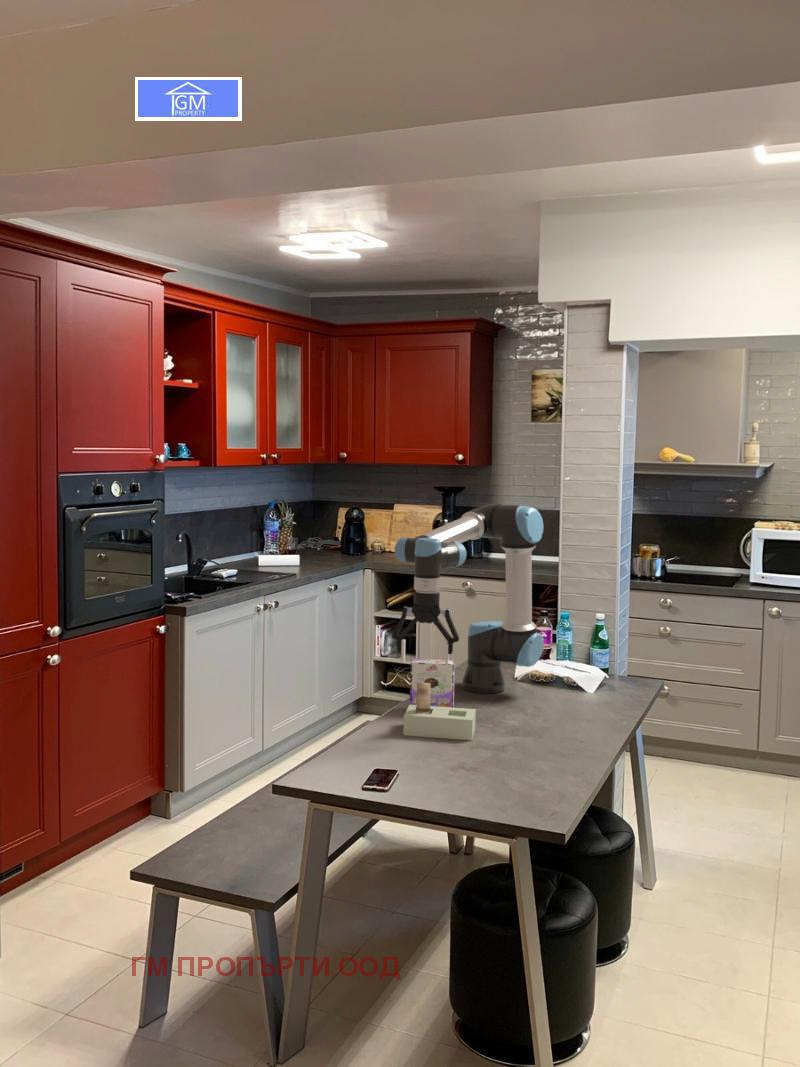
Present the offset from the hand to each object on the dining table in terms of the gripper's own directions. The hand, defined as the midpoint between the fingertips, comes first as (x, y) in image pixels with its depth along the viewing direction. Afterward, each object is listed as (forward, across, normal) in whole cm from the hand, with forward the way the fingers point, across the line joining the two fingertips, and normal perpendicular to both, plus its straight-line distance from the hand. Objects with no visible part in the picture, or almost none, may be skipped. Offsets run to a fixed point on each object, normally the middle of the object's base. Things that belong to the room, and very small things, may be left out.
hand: (424, 663), depth 280 cm
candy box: (+21, 0, +20) cm, 29 cm away
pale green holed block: (+20, +5, 0) cm, 21 cm away
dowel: (+20, 0, 0) cm, 20 cm away
